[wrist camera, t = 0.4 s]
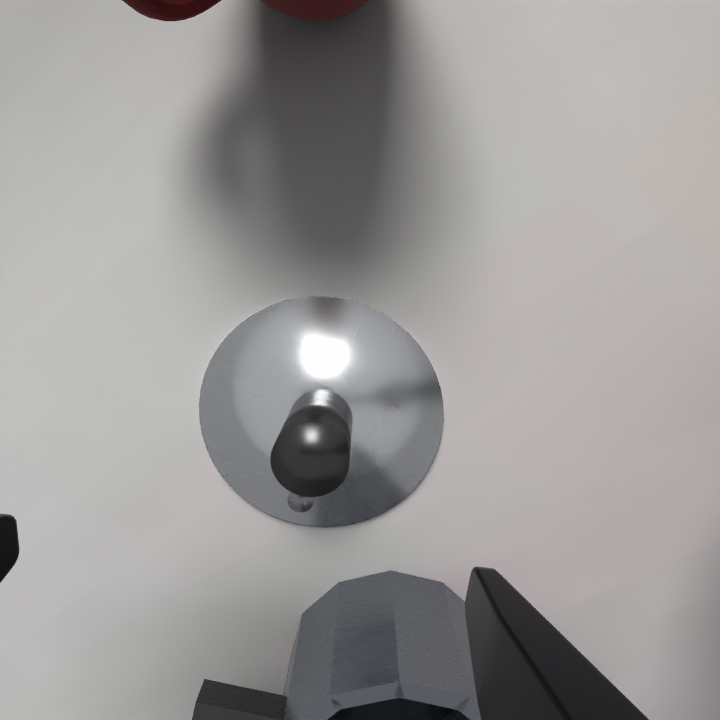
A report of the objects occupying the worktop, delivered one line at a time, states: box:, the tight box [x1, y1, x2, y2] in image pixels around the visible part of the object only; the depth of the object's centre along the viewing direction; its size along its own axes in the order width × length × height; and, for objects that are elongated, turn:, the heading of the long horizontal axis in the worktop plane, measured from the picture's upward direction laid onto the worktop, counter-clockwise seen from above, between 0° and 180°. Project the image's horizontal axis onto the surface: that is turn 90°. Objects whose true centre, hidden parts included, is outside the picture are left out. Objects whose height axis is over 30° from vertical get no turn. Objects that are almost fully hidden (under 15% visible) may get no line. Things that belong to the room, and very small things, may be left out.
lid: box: [199, 296, 444, 527], centre depth 18 cm, size 12×12×5 cm
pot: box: [192, 571, 481, 720], centre depth 21 cm, size 18×11×6 cm, turn 76°
